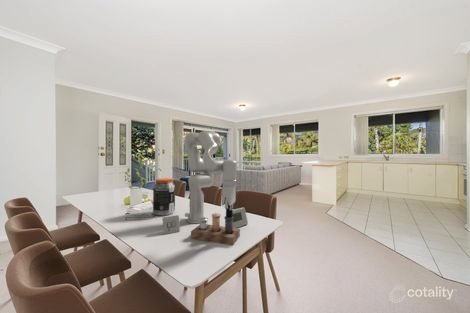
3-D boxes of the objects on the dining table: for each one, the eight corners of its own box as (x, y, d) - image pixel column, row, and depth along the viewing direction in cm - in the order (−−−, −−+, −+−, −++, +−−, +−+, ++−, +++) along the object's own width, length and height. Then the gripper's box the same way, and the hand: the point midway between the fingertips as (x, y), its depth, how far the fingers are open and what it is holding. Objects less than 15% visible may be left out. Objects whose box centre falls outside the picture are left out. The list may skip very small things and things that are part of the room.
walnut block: (190, 238, 105) (191, 231, 105) (201, 230, 116) (201, 223, 116) (233, 245, 97) (233, 237, 97) (239, 236, 109) (239, 228, 109)
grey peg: (197, 236, 108) (197, 219, 107) (201, 232, 112) (201, 217, 112) (205, 237, 106) (205, 221, 106) (209, 233, 111) (209, 218, 110)
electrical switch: (163, 235, 109) (163, 218, 109) (161, 232, 113) (161, 216, 114) (180, 231, 114) (179, 215, 114) (177, 229, 118) (177, 214, 119)
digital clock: (229, 231, 116) (229, 213, 116) (222, 226, 123) (222, 209, 123) (251, 226, 124) (251, 209, 124) (243, 221, 132) (243, 206, 132)
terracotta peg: (210, 232, 105) (210, 215, 105) (213, 228, 110) (213, 212, 110) (218, 233, 104) (218, 216, 104) (221, 229, 108) (221, 213, 108)
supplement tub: (179, 212, 149) (179, 179, 148) (159, 217, 137) (159, 181, 136) (168, 208, 159) (168, 177, 159) (149, 213, 147) (149, 179, 147)
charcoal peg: (222, 234, 103) (223, 217, 103) (226, 231, 108) (226, 215, 107) (231, 236, 101) (231, 219, 101) (234, 232, 106) (234, 216, 106)
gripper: (227, 181, 112) (227, 212, 112) (217, 184, 98) (217, 220, 98) (240, 181, 110) (239, 213, 110) (231, 185, 96) (231, 222, 96)
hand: (229, 217), depth 104 cm, fingers closed
